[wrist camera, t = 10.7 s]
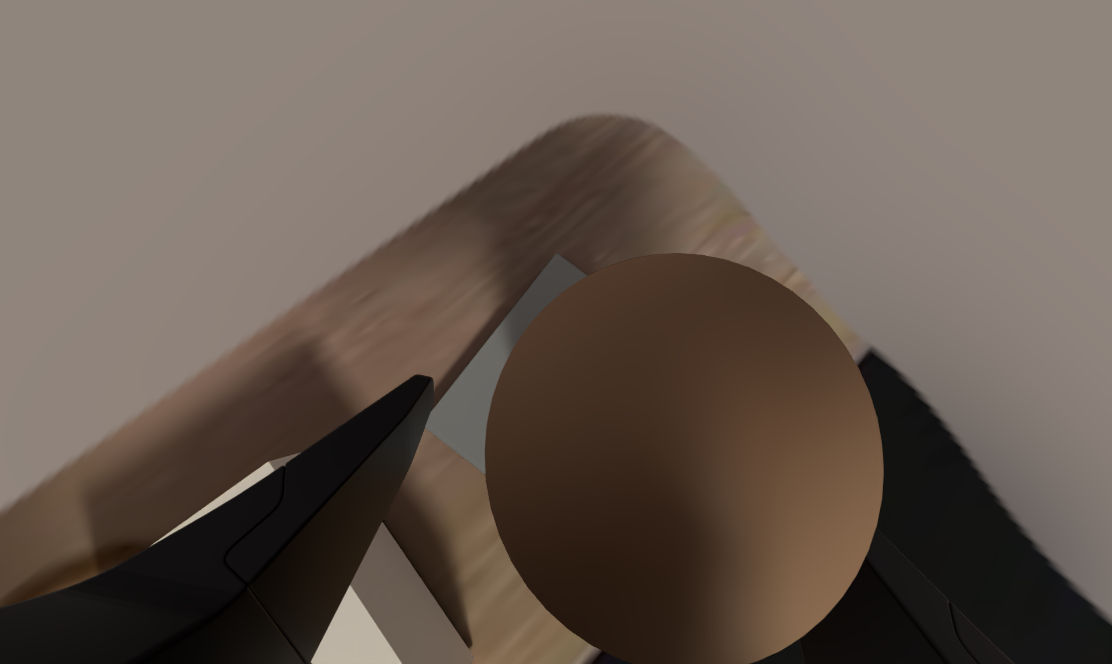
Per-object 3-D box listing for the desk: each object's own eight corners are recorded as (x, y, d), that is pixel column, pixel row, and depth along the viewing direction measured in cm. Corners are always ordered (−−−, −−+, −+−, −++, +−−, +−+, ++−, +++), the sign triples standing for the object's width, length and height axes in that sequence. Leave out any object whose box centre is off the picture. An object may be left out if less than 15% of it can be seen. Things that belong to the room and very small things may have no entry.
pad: (723, 379, 19) (728, 379, 18) (601, 561, 17) (602, 566, 17) (556, 256, 19) (556, 252, 19) (424, 423, 18) (421, 424, 17)
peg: (653, 392, 18) (951, 406, 5) (589, 483, 17) (747, 770, 4) (566, 326, 18) (640, 181, 5) (499, 414, 17) (397, 493, 5)
